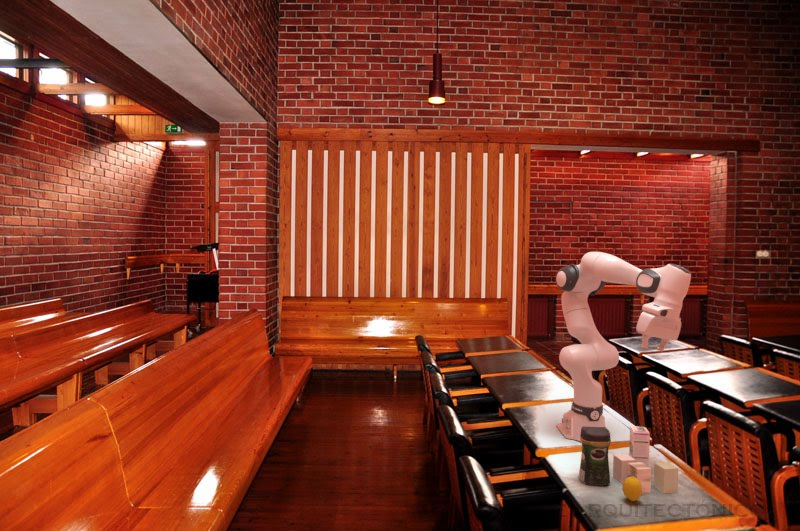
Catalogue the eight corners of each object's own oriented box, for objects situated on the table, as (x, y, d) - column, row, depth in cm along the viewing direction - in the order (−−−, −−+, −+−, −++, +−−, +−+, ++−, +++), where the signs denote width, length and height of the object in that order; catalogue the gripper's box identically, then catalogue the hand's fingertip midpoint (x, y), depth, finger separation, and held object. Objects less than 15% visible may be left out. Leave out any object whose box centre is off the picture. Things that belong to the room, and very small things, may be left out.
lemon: (625, 495, 171) (626, 471, 170) (643, 501, 167) (644, 476, 167) (619, 501, 166) (620, 476, 166) (638, 507, 163) (639, 482, 163)
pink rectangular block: (612, 477, 184) (613, 454, 183) (625, 476, 185) (626, 453, 184) (621, 484, 179) (621, 460, 178) (634, 483, 180) (635, 459, 179)
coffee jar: (604, 476, 184) (606, 423, 183) (612, 487, 176) (614, 432, 175) (576, 475, 185) (577, 422, 184) (582, 486, 177) (584, 431, 176)
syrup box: (649, 472, 188) (650, 432, 187) (631, 470, 189) (633, 430, 189) (645, 465, 194) (646, 426, 193) (628, 464, 195) (629, 425, 194)
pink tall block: (627, 486, 177) (628, 463, 177) (641, 485, 178) (641, 462, 177) (636, 493, 172) (637, 469, 172) (650, 492, 173) (651, 468, 173)
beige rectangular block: (653, 486, 178) (654, 462, 177) (667, 485, 178) (668, 461, 178) (663, 493, 173) (664, 469, 172) (677, 492, 173) (678, 468, 173)
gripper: (673, 312, 190) (660, 348, 192) (639, 304, 179) (626, 343, 181) (690, 318, 185) (677, 355, 186) (656, 309, 174) (643, 349, 175)
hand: (652, 349), depth 183 cm, fingers open, 8 cm apart
